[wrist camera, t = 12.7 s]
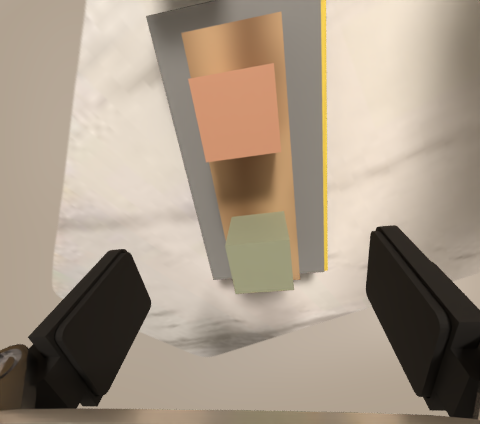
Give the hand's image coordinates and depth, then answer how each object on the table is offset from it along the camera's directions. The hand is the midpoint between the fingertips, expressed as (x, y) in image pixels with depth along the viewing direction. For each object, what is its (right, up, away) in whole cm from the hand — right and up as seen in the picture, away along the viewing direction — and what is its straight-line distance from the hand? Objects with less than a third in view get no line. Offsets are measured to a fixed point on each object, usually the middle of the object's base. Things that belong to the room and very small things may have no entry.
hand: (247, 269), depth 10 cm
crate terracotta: (0, +9, +8) cm, 12 cm away
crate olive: (+2, 0, +12) cm, 13 cm away
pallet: (+1, +7, +14) cm, 15 cm away
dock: (+1, +9, +19) cm, 21 cm away
